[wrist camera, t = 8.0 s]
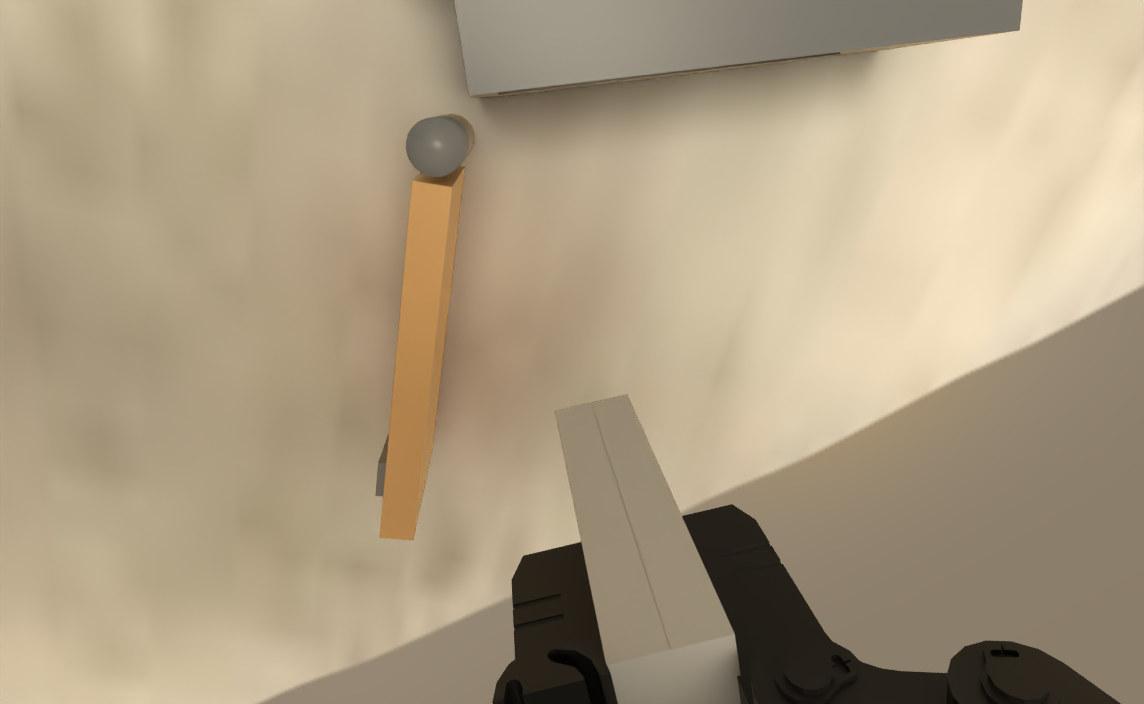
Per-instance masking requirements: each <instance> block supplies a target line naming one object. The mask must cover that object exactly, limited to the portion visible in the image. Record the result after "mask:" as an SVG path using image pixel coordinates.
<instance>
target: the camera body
mask: <svg viewBox="0 0 1144 704" xmlns="http://www.w3.org/2000/svg"><path fill="white" fill-rule="evenodd" d="M454 2H455V9H456V15H457V22H458V28H459V35H460V41H461V48H462V54H463V61H464V67H465V74H466V80H467V87H468V93H469V96H472V97H476V98H484V97H492V96H499V97H502V96H510V95H518V94H527V93H535V92H544V91H552V90H561V89H569V88H577V87H586V86H594V85H603V84H611V83H619V82H628V81H636V80H645V79H653V78H661V77H670V76H678V75H687V74H695V73H704V72H712V71H720V70H729V69H737V68H746V67H754V66H762V65H771V64H778V63H785V62H791V61H798V60H805V59H812V58H820V57H829V56H837V55H846V54H854V53H863V52H871V51H879V50H886V49H893V48H900V47H907V46H914V45H921V44H928V43H935V42H942V41H949V40H956V39H963V38H970V37H977V36H984V35H991V34H998V33H1005V32H1012V31H1019V30H1020V21H1021V11H1022V2H1023V0H454Z"/></svg>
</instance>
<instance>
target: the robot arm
mask: <svg viewBox="0 0 1144 704" xmlns="http://www.w3.org/2000/svg"><path fill="white" fill-rule="evenodd" d="M555 414H556V419H557V424H558V429H559V434H560V439H561V444H562V448H563V453H564V458H565V463H566V468H567V473H568V478H569V483H570V488H571V493H572V498H573V503H574V508H575V513H576V518H577V523H578V528H579V533H580V538H581V542H580V543H576V544H571V545H567V546H563V547H559V548H555V549H550V550H546V551H542V552H538V553H533V554H529V555H525V556H523V557H522V559H521V562H520V564H519V566H518V568H517V570H516V572H515V574H514V576H513V578H512V599H513V608H514V610H513V621H514V629H515V631H514V643H515V660H514V661H513V662H511V663H510V664H509V665H508V666H507V668H506V670H505V671H504V672H503V674H502V675H501V677H500V678H499V680H498V682H497V684H496V689H495V694H494V698H493V704H1120V703H1119V702H1118V701H1116V700H1115V699H1113V698H1112V697H1111V696H1109V695H1108V694H1106V693H1105V692H1104V691H1102V690H1101V689H1099V688H1098V687H1096V686H1095V685H1094V684H1092V683H1091V682H1089V681H1088V680H1086V679H1085V678H1084V677H1083V676H1081V675H1079V674H1078V673H1077V672H1076V671H1074V670H1073V669H1071V668H1070V667H1069V666H1067V665H1066V664H1064V663H1063V662H1061V661H1059V660H1057V659H1055V658H1054V657H1052V656H1050V655H1048V654H1046V653H1045V652H1043V651H1041V650H1039V649H1036V648H1032V647H1029V646H1025V645H1022V644H1018V643H1015V642H1009V641H983V642H980V643H976V644H972V645H969V646H965V647H964V648H963V649H962V650H961V651H959V652H958V653H957V654H956V655H955V656H954V657H953V658H952V659H951V662H950V666H949V669H948V673H928V672H927V673H926V672H906V671H905V672H904V671H895V670H888V669H881V668H878V667H875V666H872V665H869V664H866V663H863V662H861V661H859V660H858V659H857V658H856V657H855V656H854V655H853V654H852V653H851V651H849V650H847V649H845V648H843V647H842V646H840V645H838V644H836V643H834V642H832V641H831V639H830V638H829V637H828V636H827V634H826V633H825V632H824V630H823V629H822V627H821V625H820V624H819V622H818V620H817V619H816V617H815V616H814V614H813V612H812V611H811V609H810V608H809V606H808V604H807V603H806V601H805V600H804V598H803V596H802V594H801V593H800V591H799V590H798V588H797V586H796V585H795V583H794V581H793V580H792V578H791V577H790V575H789V573H788V572H787V570H786V568H785V567H784V565H783V564H781V562H780V559H779V557H778V556H777V554H776V552H775V551H774V549H773V547H772V546H770V544H769V541H768V539H767V538H766V536H765V534H764V533H763V531H762V529H761V528H760V526H759V525H758V523H757V521H756V520H755V519H754V518H752V517H751V516H749V515H747V514H746V513H744V512H743V511H741V510H740V509H738V508H737V507H735V506H734V505H732V504H731V505H728V506H723V507H719V508H714V509H711V510H706V511H702V512H698V513H694V514H689V515H685V516H682V515H681V513H680V511H679V509H678V507H677V504H676V502H675V500H674V498H673V495H672V493H671V491H670V489H669V486H668V484H667V482H666V480H665V478H664V475H663V473H662V471H661V469H660V466H659V464H658V462H657V460H656V457H655V455H654V453H653V451H652V449H651V446H650V444H649V442H648V440H647V437H646V435H645V433H644V431H643V428H642V426H641V424H640V422H639V420H638V417H637V415H636V413H635V411H634V408H633V406H632V404H631V402H630V399H629V397H628V395H627V394H626V395H622V396H618V397H613V398H609V399H605V400H600V401H596V402H592V403H587V404H583V405H579V406H574V407H570V408H566V409H561V410H557V411H555Z"/></svg>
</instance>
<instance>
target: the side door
mask: <svg viewBox="0 0 1144 704" xmlns="http://www.w3.org/2000/svg"><path fill="white" fill-rule="evenodd" d="M473 144H474V131H473V128H472V126H471V124H470V123H469V122H468V121H467V120H466V119H465V118H463V117H462V116H459V115H456V114H449V115H443V116H438V117H432V118H427V119H424V120H421V121H419V122H418V123H417V124H415V125H414V126H413V128H412V129H411V130H410V132H409V134H408V137H407V141H406V150H407V155H408V157H409V160H410V161H411V163H412V164H413V166H414V167H415V168H416V169H417V170H418V171H420V172H421V174H420V175H419V176H417V177H416V178H415V179H414V180H413V181H412V188H411V199H410V210H409V221H408V232H407V243H406V254H405V265H404V276H403V287H402V298H401V309H400V320H399V331H398V342H397V353H396V364H395V375H394V386H393V396H392V407H391V418H390V429H389V434H388V437H387V440H386V443H385V445H384V448H383V451H382V454H381V457H380V460H379V463H378V473H377V485H376V496H383V506H382V517H381V528H380V538H391V539H403V540H414V535H415V530H416V525H417V520H418V516H419V511H420V506H421V501H422V496H423V492H424V487H425V482H426V477H427V472H428V468H429V463H430V458H431V453H432V448H433V440H434V431H435V423H436V414H437V405H438V397H439V388H440V379H441V370H442V362H443V353H444V344H445V336H446V327H447V318H448V309H449V301H450V292H451V283H452V275H453V266H454V257H455V248H456V240H457V231H458V222H459V214H460V205H461V196H462V187H463V179H464V170H465V167H462V166H459V165H460V164H461V162H462V161H463V159H464V158H465V157H466V155H467V154H468V153H469V151H470V150H471V148H472V146H473Z"/></svg>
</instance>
